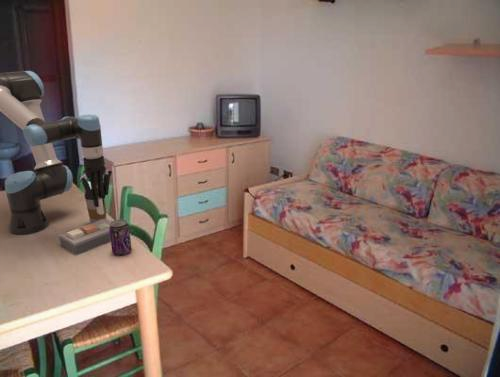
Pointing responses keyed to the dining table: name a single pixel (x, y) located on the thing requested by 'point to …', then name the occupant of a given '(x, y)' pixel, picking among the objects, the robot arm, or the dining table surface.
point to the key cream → (75, 234)
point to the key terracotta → (89, 229)
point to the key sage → (103, 226)
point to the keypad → (86, 239)
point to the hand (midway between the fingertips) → (100, 213)
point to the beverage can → (120, 237)
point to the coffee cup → (94, 210)
